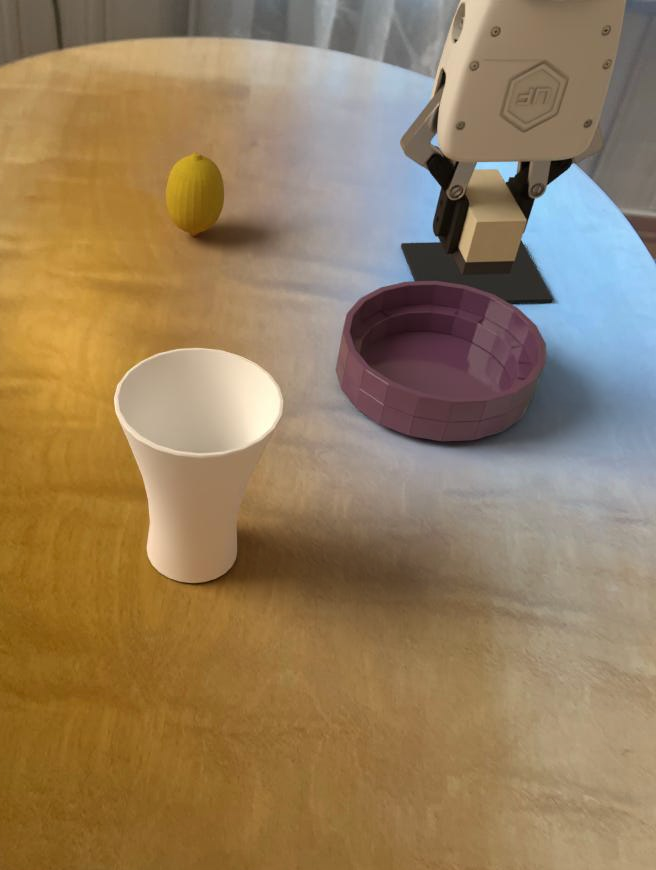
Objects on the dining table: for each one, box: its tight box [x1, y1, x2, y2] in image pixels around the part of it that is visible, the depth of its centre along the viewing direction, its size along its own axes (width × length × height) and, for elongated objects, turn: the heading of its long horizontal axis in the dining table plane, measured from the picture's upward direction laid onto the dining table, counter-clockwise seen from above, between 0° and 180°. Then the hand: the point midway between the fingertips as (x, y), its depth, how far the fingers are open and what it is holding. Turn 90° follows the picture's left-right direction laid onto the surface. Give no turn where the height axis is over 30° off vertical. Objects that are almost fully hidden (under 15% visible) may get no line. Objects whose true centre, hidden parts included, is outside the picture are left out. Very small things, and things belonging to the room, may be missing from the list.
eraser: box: [453, 168, 527, 275], centre depth 71 cm, size 4×7×4 cm, turn 5°
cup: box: [113, 347, 285, 584], centre depth 67 cm, size 10×10×14 cm
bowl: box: [335, 280, 547, 442], centre depth 83 cm, size 16×16×4 cm
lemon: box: [165, 151, 225, 237], centre depth 95 cm, size 6×6×8 cm
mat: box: [400, 239, 554, 305], centre depth 95 cm, size 12×10×1 cm
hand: (474, 240), depth 72 cm, fingers closed on eraser, 3 cm apart
